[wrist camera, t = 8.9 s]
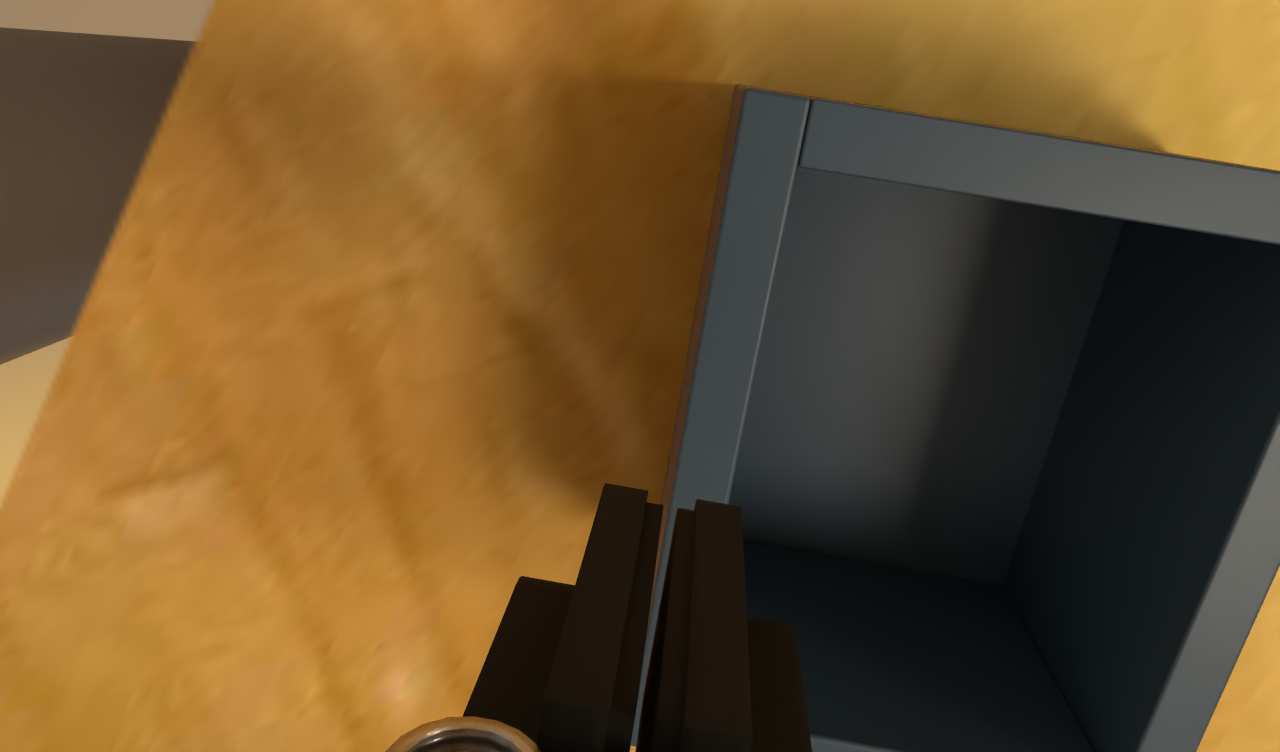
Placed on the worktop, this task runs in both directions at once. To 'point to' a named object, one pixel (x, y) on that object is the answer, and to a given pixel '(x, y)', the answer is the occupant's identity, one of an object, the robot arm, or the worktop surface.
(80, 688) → the worktop surface
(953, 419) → the grey open box
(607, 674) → the robot arm
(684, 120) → the worktop surface
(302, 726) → the worktop surface
